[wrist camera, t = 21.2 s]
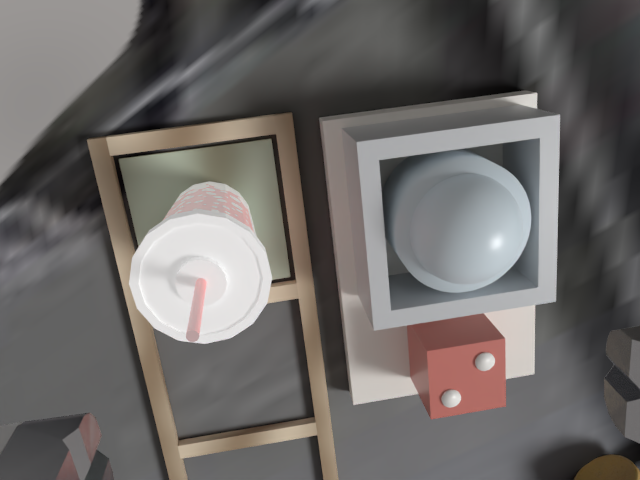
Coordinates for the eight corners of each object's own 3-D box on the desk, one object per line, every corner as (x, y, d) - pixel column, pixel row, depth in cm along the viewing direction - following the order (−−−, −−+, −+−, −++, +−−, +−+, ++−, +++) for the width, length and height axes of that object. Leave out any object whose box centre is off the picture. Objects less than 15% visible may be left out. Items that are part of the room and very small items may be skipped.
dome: (498, 137, 33) (560, 161, 27) (500, 255, 35) (557, 304, 29) (373, 154, 32) (405, 183, 26) (383, 273, 35) (415, 326, 28)
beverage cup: (137, 194, 34) (69, 298, 20) (237, 150, 33) (235, 227, 20) (186, 285, 36) (154, 433, 22) (281, 245, 36) (304, 370, 22)
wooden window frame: (291, 111, 33) (291, 113, 33) (345, 541, 44) (346, 548, 43) (89, 138, 32) (86, 140, 32) (193, 569, 43) (193, 576, 42)
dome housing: (525, 90, 35) (580, 101, 29) (524, 362, 41) (569, 415, 35) (318, 117, 34) (334, 134, 28) (349, 391, 40) (367, 451, 34)
